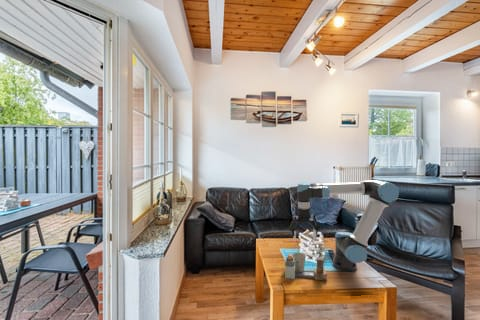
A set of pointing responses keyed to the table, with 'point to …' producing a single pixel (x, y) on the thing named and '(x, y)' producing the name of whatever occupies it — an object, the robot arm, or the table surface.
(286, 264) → the cabinet
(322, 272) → the carriage
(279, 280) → the table surface
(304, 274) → the rail
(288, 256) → the plunger
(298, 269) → the mug
